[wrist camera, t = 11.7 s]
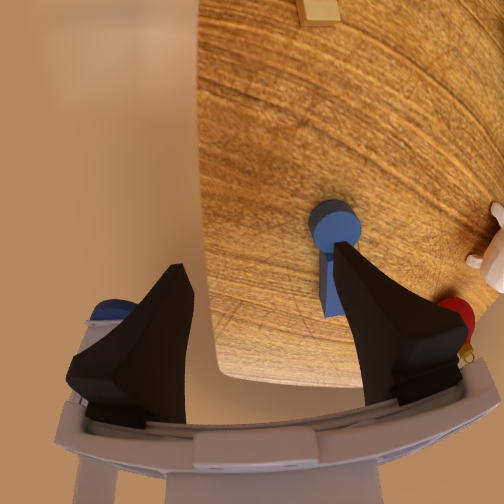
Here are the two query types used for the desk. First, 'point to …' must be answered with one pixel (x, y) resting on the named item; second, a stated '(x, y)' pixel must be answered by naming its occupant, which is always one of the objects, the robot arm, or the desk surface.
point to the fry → (318, 12)
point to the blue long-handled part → (332, 246)
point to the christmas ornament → (467, 316)
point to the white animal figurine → (492, 255)
